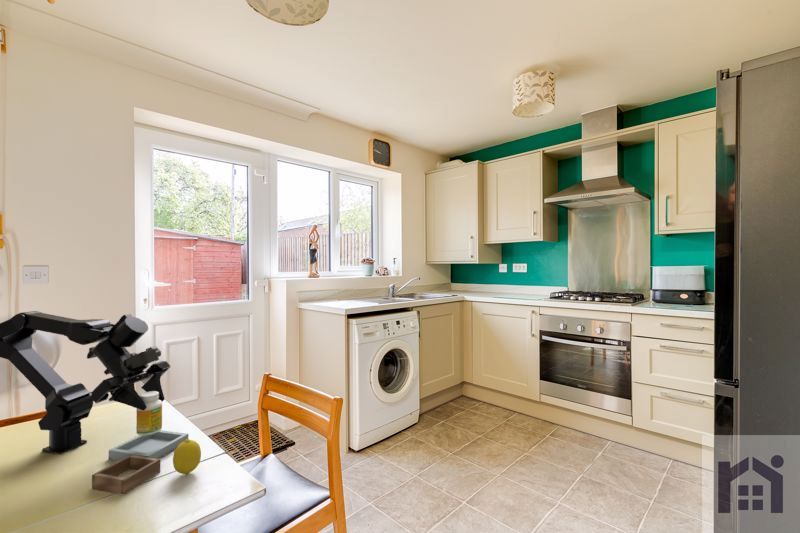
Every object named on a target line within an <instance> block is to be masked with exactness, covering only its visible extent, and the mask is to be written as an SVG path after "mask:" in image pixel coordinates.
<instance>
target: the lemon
mask: <svg viewBox="0 0 800 533" xmlns="http://www.w3.org/2000/svg"><path fill="white" fill-rule="evenodd" d="M201 449H202V448H201V446H200V444H199V443H198V442H197V441H196V440H193V439H189V438H188V439H187V440H185V441H184V442H182V443H181V444H179V445H178V447H177V448H176V449H175V450H174V451H173V456H172V465H173V469H174V470H175V471H176V472H177V473H179V474H181V475H182V474H183V475H185V476H188V475H189V474H190V473H192V472H193V471H194V470H196V468H197V467H198V466H199V464H200V461H201V459H202V458H201V457H202V450H201Z"/></svg>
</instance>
